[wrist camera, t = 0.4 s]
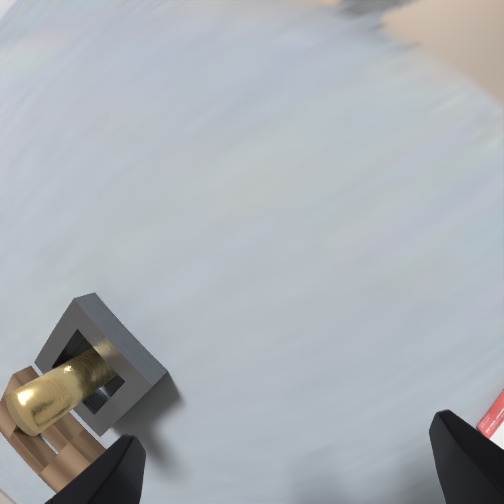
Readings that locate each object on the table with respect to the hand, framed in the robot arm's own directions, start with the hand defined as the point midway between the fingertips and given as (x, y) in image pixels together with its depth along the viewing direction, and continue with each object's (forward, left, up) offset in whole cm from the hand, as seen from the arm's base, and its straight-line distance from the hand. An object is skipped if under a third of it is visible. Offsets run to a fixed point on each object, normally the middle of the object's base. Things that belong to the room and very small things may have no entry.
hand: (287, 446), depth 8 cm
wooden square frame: (-30, +8, -15) cm, 35 cm away
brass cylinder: (-15, +8, -15) cm, 23 cm away
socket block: (-15, +8, -15) cm, 23 cm away
